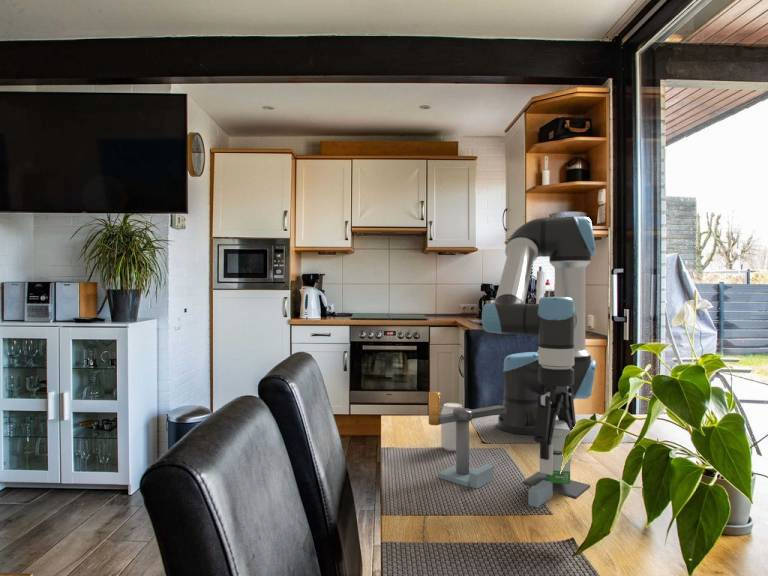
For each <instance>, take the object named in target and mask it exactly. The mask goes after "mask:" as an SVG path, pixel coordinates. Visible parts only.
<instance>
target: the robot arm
mask: <svg viewBox="0 0 768 576" xmlns="http://www.w3.org/2000/svg"><path fill="white" fill-rule="evenodd" d="M592 223H593V222H592V220H591V219H590V217H587V216H564V217H563V216H562V217H561V216H559V217H551V218H550V217H549V218H543V217H541V218H535V219H531V220H529V221H527V222H524V224H522V225H520V226H519V227H518V228H517V229H516V230H515V231H513V233H512V234H511V235H510V237H509V238H508V240H507V243H506V246H505V249H504V253H505V256H506V258H505V262H504V265H503V266H504V267H503V270H502V273H501V276H500V277H501V278H500V280H499V281H500V282H499V284H498V289H497V291H496V292H497V293H496V296H495V300H494V302H490V303H485V304H484V305H483V307H482V312H481V324H482V328H483V330H484V331H485V332H487V333H494V334H501V335H502V334H505V335H507V334H508V335H509V334H511V335H512V334H513V335H514V334H515V335H538V349H537V351H528V352H519V353H512V354H509V355H507V356H505V358H504V360H503V368H502V372H503V403H502V406H504V407H506V413H503V414H498V417H497V427H498V428H499V429H500V430H502V431H504V432H508V433H512V434H516V435H517V434H518V435H534V437H533V438H534V439H533V441H534V442H535V443H538V444H539V472H541V473H545V474H548V475H553V444H551V440H552V435H553V430H554V425H555V420H563V421H565V422H566V424H567V425H568V427H569V429H570V431H571V430H572V429H573V427H574V426H575V424H576V425H577V421H576V412H575V402H574V400H588V399H589V398H591V396H592V393H593V388H594V380H595V374H596V373H595V371H596V367H597V361H596V360H594V359H592V354H591V352H590V351H588V349H586V268H587V266H588V265H590V263H592V262H591V261H592V259H591V258H592V257H594V256H596V255H597V250H596V243H595V236H594V235H595V234H594V229H593V224H592ZM539 257H542V258H543V257H544V258H546V257H547V258H548V257H549V264H550V265H551V266H552V267H553V268H554V296H543V297H540V298H539V300H538V303H526V299H527V294H528V289H529V285H530V279H531V273H532V269H533V264H534V262H535V261H536V260H537V258H539ZM572 459H573V454H572V455H571V457H570V464H571V463H572V461H573V460H572Z"/></svg>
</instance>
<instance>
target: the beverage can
mask: <svg viewBox="0 0 768 576" xmlns="http://www.w3.org/2000/svg"><path fill="white" fill-rule="evenodd" d="M462 406H463V404H461V403H458V402H447V403H444V404H443V407H442V409H441V410H440V415H444V414H450V413H453V409H455V408H463V407H462ZM440 429H441V430H440V432H441V437H440V438H441V440H440V442H441V447H442V448H443V449H444V450H445V451H449V452H456V422H450V423H445V424H440Z"/></svg>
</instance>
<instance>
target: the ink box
mask: <svg viewBox="0 0 768 576" xmlns="http://www.w3.org/2000/svg"><path fill="white" fill-rule="evenodd" d="M569 433H570V429H569V427H568V425H567V424H566V422H565V421H563V420H558V419H556V420H555V425H554V430H553V435H552V440H551V444H553V475H548V474H545V476H546V478H547V481H549V482H553V483H563V484H570V480H571V463H570V459H569V460H568V462H567V463H566V464H565V466H564V468H563V470H562V472H561V474H560V471H561V466H562V462H563V456H562V450H563V446H564V441H565V438H566V436H567V435H568V434H569Z"/></svg>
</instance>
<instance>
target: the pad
mask: <svg viewBox="0 0 768 576" xmlns="http://www.w3.org/2000/svg"><path fill="white" fill-rule="evenodd" d="M543 480H545V481H547V478H546V476H545V473H541V472H540V470H539V471H536V472H535V473H533V474H532V475H530V476H529V477H527V478H526V479H524V480H523V481H522V484H525V485H527V486H531V487H534V486H535V485H537V484H538V483H540V482H541V481H543ZM590 488H591V485H590V484H589V483H588V484H587V483H584V482H579V481H577V480H573V479H570V484H563V483H553V493H557V494H560V495H563V496H566V497H570V498H574V499H578V497H579V496H581V495H582V494H584V492H586V491H588V489H590Z"/></svg>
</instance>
